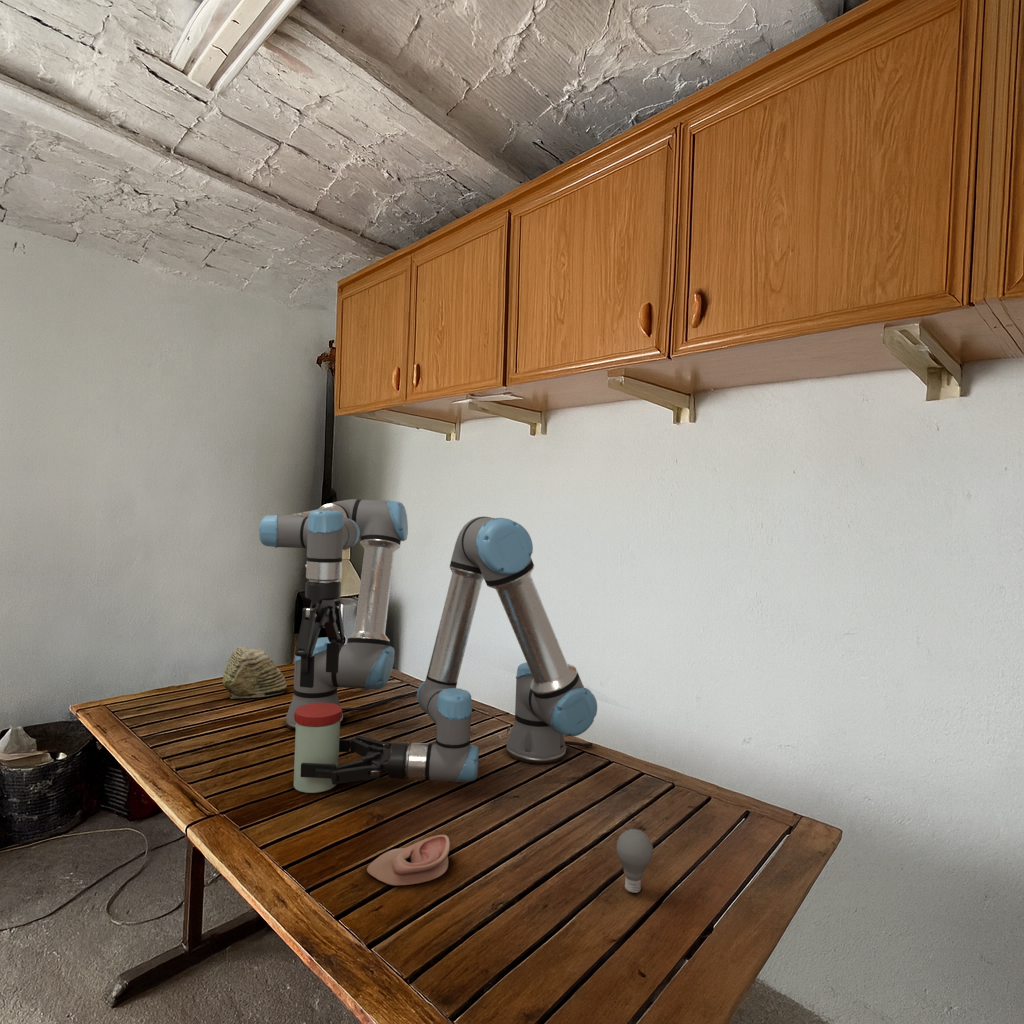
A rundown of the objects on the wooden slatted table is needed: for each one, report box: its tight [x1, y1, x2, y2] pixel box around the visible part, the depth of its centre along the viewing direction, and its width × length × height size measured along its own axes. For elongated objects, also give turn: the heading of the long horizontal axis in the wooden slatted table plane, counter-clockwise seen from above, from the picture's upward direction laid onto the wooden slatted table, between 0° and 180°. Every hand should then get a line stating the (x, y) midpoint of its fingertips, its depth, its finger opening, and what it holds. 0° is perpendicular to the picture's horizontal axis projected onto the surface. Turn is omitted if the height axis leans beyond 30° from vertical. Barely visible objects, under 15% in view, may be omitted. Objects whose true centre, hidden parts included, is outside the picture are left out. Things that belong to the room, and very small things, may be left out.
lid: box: [294, 703, 343, 726], centre depth 140 cm, size 10×10×2 cm
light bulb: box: [615, 828, 654, 894], centre depth 106 cm, size 6×6×10 cm
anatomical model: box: [366, 834, 451, 886], centre depth 109 cm, size 13×4×12 cm
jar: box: [293, 721, 341, 794], centre depth 140 cm, size 9×9×16 cm
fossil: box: [222, 646, 288, 699], centre depth 198 cm, size 9×18×15 cm, turn 132°
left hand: (319, 679), depth 140 cm, fingers open, 11 cm apart
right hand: (311, 756), depth 139 cm, fingers open, 13 cm apart
